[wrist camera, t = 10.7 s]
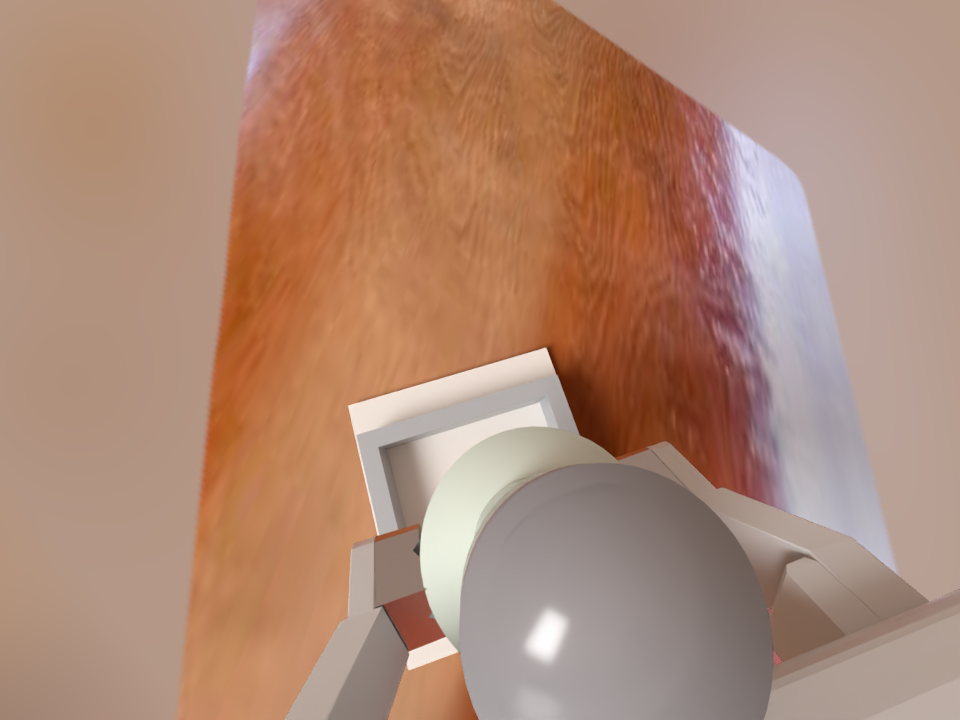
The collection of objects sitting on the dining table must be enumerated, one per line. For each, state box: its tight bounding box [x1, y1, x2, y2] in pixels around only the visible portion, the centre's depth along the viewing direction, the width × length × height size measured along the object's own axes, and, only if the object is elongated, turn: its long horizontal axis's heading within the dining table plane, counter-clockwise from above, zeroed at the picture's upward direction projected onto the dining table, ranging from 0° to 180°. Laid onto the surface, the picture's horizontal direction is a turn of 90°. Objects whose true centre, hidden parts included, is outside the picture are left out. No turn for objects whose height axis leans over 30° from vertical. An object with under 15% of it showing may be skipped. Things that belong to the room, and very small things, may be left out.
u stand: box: [348, 348, 579, 670], centre depth 28 cm, size 18×16×4 cm
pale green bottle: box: [420, 426, 774, 720], centre depth 10 cm, size 5×5×13 cm
